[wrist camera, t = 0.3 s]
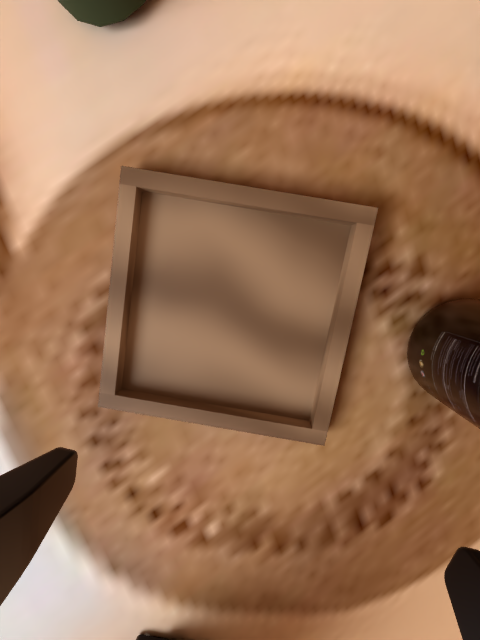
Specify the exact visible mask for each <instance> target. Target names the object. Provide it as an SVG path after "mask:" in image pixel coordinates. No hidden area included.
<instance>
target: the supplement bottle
mask: <svg viewBox="0 0 480 640" xmlns="http://www.w3.org/2000/svg"><path fill="white" fill-rule="evenodd" d="M407 356H408V364H409V367H410V370H411V373H412V374H413V376H414V378H415V380H416V381H417V382H418V384H419V385H420V386H421V387H422V388H423V389H424V390H426V391H427V392H428V393H429V394H431V395H432V396H434V397H435V398H436V399H438V400H439V401H440V402H442V403H443V404H445V405H446V406H448V407H449V408H450V409H452V410H453V411H455V412H456V413H458V414H459V415H460V416H462V417H463V418H465V419H466V420H468V421H469V422H471V423H472V424H473V425H475V426H476V427H478V428H479V429H480V299H458V300H453V301H449V302H446V303H444V304H441V305H439V306H437V307H435V308H434V309H432V310H431V311H430V312H428V313H427V314H426V315H425V316H424V317H423V318H422V319H421V320H420V321H419V322H418V324H417V325H416V327H415V328H414V330H413V332H412V334H411V337H410V340H409V343H408V351H407Z"/></svg>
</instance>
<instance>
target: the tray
mask: <svg viewBox="0 0 480 640" xmlns="http://www.w3.org/2000/svg"><path fill="white" fill-rule="evenodd" d="M377 211H378V208H376V207H370V206H364V205H358V204H352V203H346V202H340V201H334V200H328V199H321V198H315V197H309V196H303V195H297V194H291V193H285V192H279V191H273V190H266V189H260V188H254V187H248V186H242V185H236V184H230V183H224V182H217V181H211V180H205V179H199V178H193V177H187V176H181V175H175V174H169V173H162V172H156V171H150V170H144V169H138V168H132V167H126V166H121V173H120V183H119V193H118V204H117V214H116V225H115V235H114V246H113V256H112V267H111V277H110V288H109V298H108V309H107V319H106V329H105V340H104V350H103V361H102V371H101V382H100V392H99V403H98V407H102V408H108V409H114V410H119V411H125V412H131V413H137V414H143V415H149V416H154V417H160V418H166V419H172V420H178V421H184V422H189V423H195V424H201V425H207V426H213V427H218V428H224V429H230V430H236V431H242V432H248V433H253V434H259V435H265V436H271V437H277V438H283V439H288V440H294V441H300V442H306V443H312V444H317V445H323V446H325V441H326V437H327V432H328V428H329V423H330V419H331V415H332V410H333V406H334V401H335V397H336V392H337V388H338V384H339V379H340V375H341V370H342V366H343V362H344V357H345V353H346V348H347V344H348V339H349V335H350V331H351V326H352V322H353V317H354V313H355V308H356V304H357V300H358V295H359V291H360V286H361V282H362V277H363V273H364V269H365V264H366V260H367V255H368V251H369V247H370V242H371V238H372V233H373V229H374V224H375V220H376V216H377Z"/></svg>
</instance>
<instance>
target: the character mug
mask: <svg viewBox="0 0 480 640" xmlns="http://www.w3.org/2000/svg"><path fill="white" fill-rule="evenodd" d="M58 1H59V2H60V3H61V4H62V5H63V6H64V7H65V8H66V9H67V10H68V11H69V12H70V13H71V14H72V15H73V16H74V17H75V18H76V19H77V20H78V21H81V22H85V23H88V24H92V25H95V26H99V27H102V26H106V25H109V24H113V23H117V22H120V21H124V20H125V19H126V18H127V17H129V16H130V15H131V14H132V13H133V12H135V11H136V10H137V9H138V8H139V7H141V6H142V5H143V4H144V3H145V1H146V0H58Z"/></svg>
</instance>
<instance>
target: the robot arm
mask: <svg viewBox="0 0 480 640" xmlns="http://www.w3.org/2000/svg"><path fill="white" fill-rule="evenodd" d="M77 458H78V454H77V452H76V451H75V450H71V449H67V448H63V447H59V448H56V449H54V450H52V451H50V452H48V453H45V454H43V455H41V456H39V457H37V458H35V459H33V460H31V461H29V462H27V463H25V464H23V465H21V466H19V467H17V468H15V469H13V470H11V471H9V472H7V473H5V474H3V475H1V476H0V606H1V604H2V603H3V601H4V600H5V598H6V597H7V596H8V594H9V593H10V591H11V590H12V588H13V587H14V585H15V584H16V583H17V581H18V580H19V578H20V577H21V575H22V574H23V572H24V571H25V569H26V568H27V566H28V565H29V563H30V561H31V560H32V558H33V556H34V555H35V553H36V551H37V549H38V548H39V546H40V544H41V542H42V541H43V539H44V537H45V535H46V534H47V532H48V530H49V528H50V527H51V525H52V523H53V521H54V520H55V518H56V516H57V514H58V513H59V511H60V509H61V507H62V506H63V504H64V502H65V500H66V499H67V497H68V495H69V493H70V492H71V490H72V488H73V485H74V482H75V477H76V467H77ZM444 578H445V584H446V587H447V590H448V594H449V597H450V600H451V603H452V606H453V610H454V613H455V616H456V619H457V622H458V626H459V629H460V632H461V635H462V638H463V640H480V551H479V550H476V549H472V548H468V547H460V548H458V550H457V551H456V553H455V554H454V556H453V558H452V559H451V561H450V563H449V565H448V566H447V568H446V570H445V575H444ZM136 640H169V639H163V638H158V637H152V636H146V635H139V636H138V637H137V639H136Z"/></svg>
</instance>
